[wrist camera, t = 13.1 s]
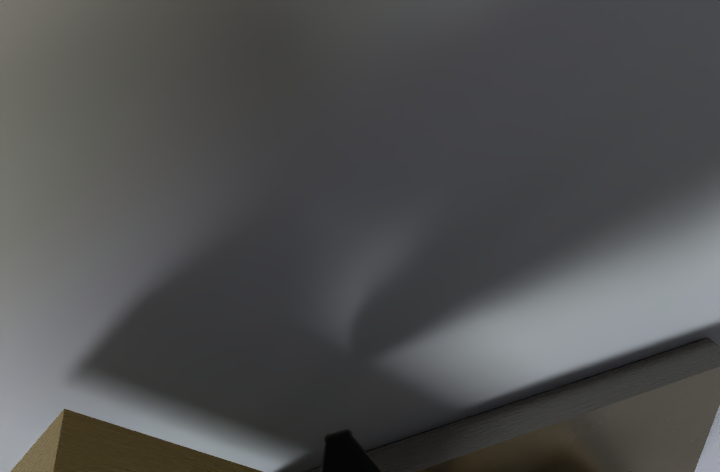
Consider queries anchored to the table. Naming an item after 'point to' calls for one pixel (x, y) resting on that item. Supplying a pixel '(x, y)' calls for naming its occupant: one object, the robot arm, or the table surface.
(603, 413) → the base
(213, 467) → the brass door lever
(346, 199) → the table surface
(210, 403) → the table surface
